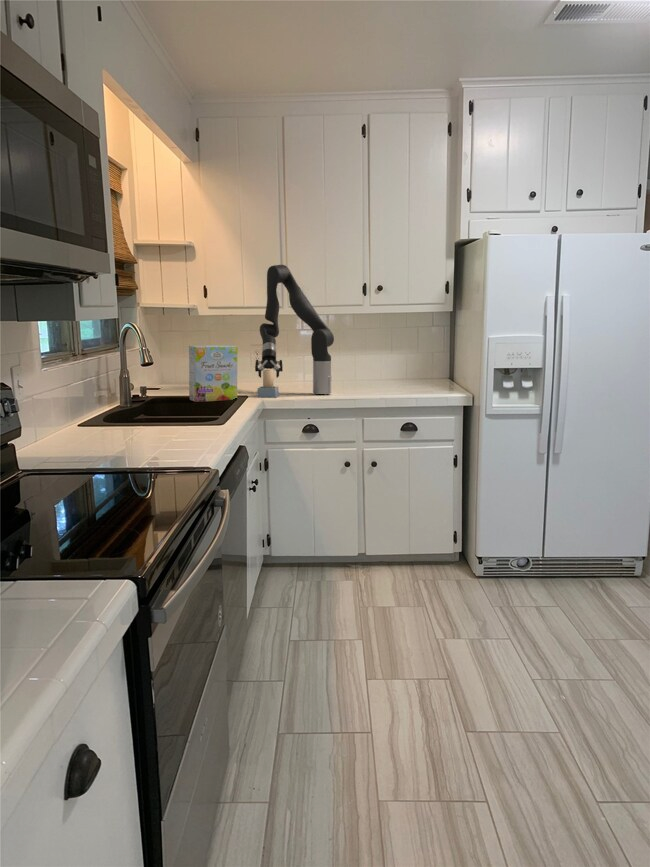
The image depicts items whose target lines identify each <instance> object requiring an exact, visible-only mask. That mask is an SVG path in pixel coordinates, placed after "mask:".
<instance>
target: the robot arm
mask: <svg viewBox="0 0 650 867" xmlns="http://www.w3.org/2000/svg"><path fill="white" fill-rule="evenodd" d="M279 284H282V285H283V286H284V287H285V288H286V290H287V293H288V300H289V304H290V307H291V309H292V310H293V312H294V313H295V315H296V316H297V317H298V318H299V319H300V320H301V321H302V322H303V323H305V324H306V325H307V326H308V327H309V328H310V329H311V330H312V334H311V339H310V340H311V341H310V343H311V344H310V346H311V347H310V348H311V356H312V358H313V359H312V360H313V361H312V394H313V393H314V394H313V395H315V394H330V393H331V394H332V356H331V354H330V353H329V351H328V348H329V347H332V345H333V344H334V341H335V337H334V334H333V332H332V331H331V329H330V328H329V327H328V326H327V325H326V324H325V322H324V321H323V320H322V318H321V317H320V316H319V314H318V312H317V311H316V310H315V308H314V307H313V305H312V304H311V302H310V300H309V299H308V298H307V296H306V295H305V294H304V292H303V290H302V289H301V288H300V286H299V284H298V283H297V280H296V278H295V277H294V276H293V273H292V272H291V270H290V268H289V267H288V266H287V265H285V264H274V265H271V266H269V267H268V269H267V271H266V294H267V295H266V306H265V307H266V308H265V313H264V314H265V315H264V319H265V320H266V321H268V322H270V323H263V322H262V323H261V324H260V326H259V334H260V336H261V339H262V348H261V360H258V359H256V360H255V364H254V365H255V366H254V370H255V372H258V373H257V374H258V375H257V376H258V377H259V378H262V372H263V370H273V371H275V372H276V374H275V375H276V379H277V378H279V377H280V372H283V360H282V359H279V360H278V361H277V346H276V344H277V342H276V341H277V340H276V338H278V336H279V334H280V327H279V314H280V313H279V312H280V301H279V298H278V295H277V290H278V289H277V288H278V285H279ZM331 394H330V395H331Z"/></svg>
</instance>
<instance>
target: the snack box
mask: <svg viewBox="0 0 650 867" xmlns="http://www.w3.org/2000/svg"><path fill="white" fill-rule="evenodd" d="M188 369H189V371H188V375H189V376H188V382H189V384H188V385H189V386H188V387H189V388H188V389H189V396H188V398H189V399H188V400H189V401H193V402H194V403H197V402H201V403H202V402H203V403H204V402H217V401H221V402H222V401H234V400H233V399H235V398H237V399H238V346H236V345H217V344H215V345H208V344H207V345H189V346H188Z"/></svg>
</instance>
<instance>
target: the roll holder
mask: <svg viewBox="0 0 650 867" xmlns="http://www.w3.org/2000/svg"><path fill="white" fill-rule="evenodd" d="M279 395H281V394H280V393H279V386H274V388H263V385H262V386H259V387H257V394H256V398H270V399H271V398H274V399H277V398H278V397H279Z"/></svg>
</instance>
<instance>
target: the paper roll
mask: <svg viewBox="0 0 650 867" xmlns="http://www.w3.org/2000/svg"><path fill="white" fill-rule="evenodd" d="M274 383H275V382H274V369H264V370H262V386H263V388H274V387H275V386H274Z"/></svg>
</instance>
